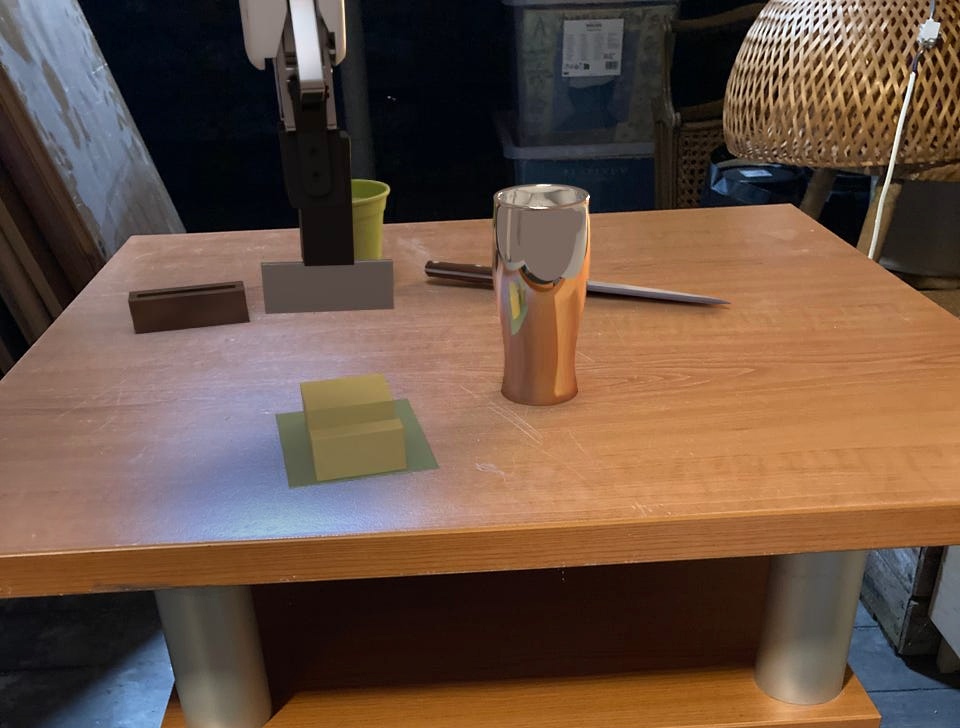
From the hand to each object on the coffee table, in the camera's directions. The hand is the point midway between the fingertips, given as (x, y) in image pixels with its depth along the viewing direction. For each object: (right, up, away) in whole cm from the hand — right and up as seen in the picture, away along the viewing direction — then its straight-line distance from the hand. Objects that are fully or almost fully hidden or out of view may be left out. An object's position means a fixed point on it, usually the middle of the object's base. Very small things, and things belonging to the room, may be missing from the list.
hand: (315, 198), depth 58 cm
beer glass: (+14, -8, +19) cm, 25 cm away
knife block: (-17, +4, +35) cm, 40 cm away
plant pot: (-4, +11, +44) cm, 46 cm away
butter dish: (+1, -13, +13) cm, 18 cm away
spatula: (0, -5, +4) cm, 7 cm away
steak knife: (+18, +8, +39) cm, 44 cm away
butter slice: (+2, -15, +8) cm, 17 cm away
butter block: (0, -11, +13) cm, 17 cm away
